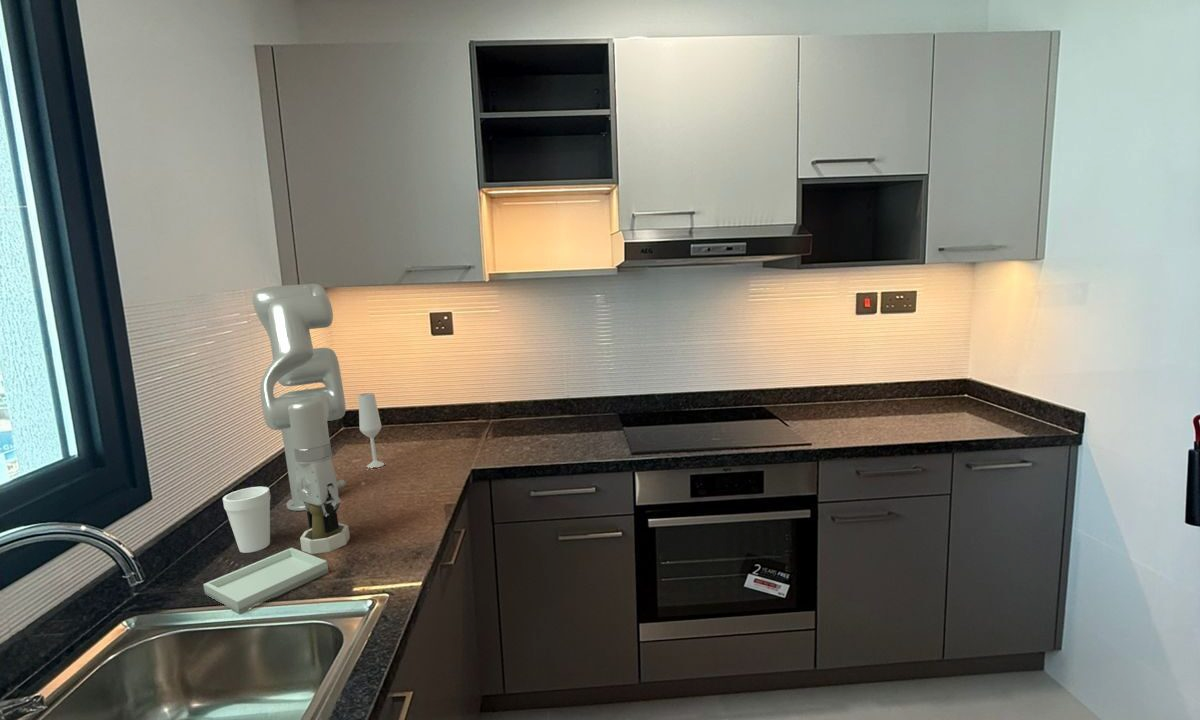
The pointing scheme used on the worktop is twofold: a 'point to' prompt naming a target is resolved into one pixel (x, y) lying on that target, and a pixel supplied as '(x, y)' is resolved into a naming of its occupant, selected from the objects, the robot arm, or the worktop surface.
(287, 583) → the tray
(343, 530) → the collar
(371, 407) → the champagne flute
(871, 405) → the worktop surface
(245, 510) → the foam cup
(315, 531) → the cork
